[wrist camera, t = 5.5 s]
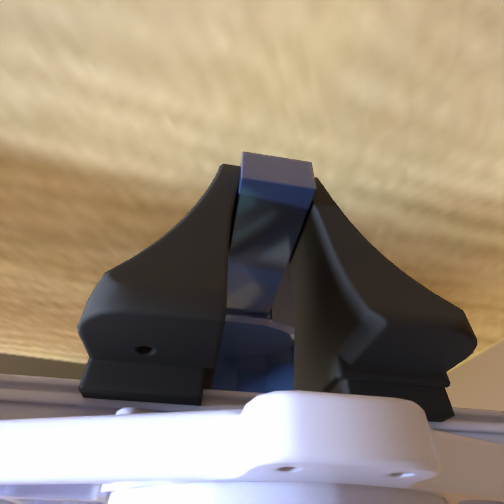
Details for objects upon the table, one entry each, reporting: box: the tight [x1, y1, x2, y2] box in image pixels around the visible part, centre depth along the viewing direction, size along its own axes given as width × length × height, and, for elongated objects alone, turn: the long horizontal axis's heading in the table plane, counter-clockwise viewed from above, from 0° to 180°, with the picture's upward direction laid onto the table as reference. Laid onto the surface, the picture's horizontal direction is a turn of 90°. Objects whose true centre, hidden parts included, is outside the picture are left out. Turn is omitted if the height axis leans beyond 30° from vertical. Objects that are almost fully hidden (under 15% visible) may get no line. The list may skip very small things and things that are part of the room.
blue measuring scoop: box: [211, 152, 316, 393], centre depth 17 cm, size 19×12×4 cm, turn 171°
